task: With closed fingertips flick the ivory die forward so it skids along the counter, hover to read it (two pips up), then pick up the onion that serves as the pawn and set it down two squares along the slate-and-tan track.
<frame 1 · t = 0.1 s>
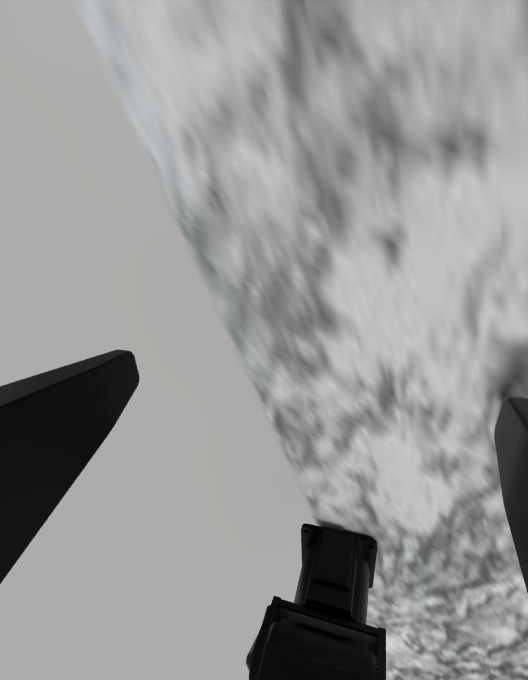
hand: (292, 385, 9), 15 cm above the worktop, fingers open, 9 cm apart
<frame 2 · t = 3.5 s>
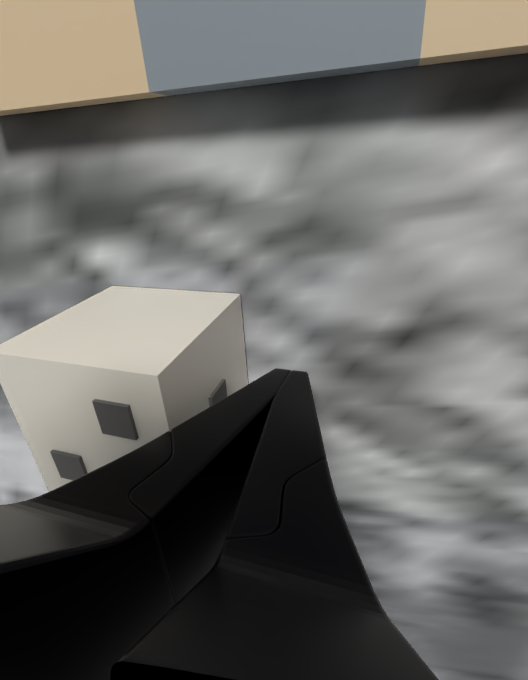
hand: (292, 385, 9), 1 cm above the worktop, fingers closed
die: (183, 352, 11), on the worktop, touching gripper
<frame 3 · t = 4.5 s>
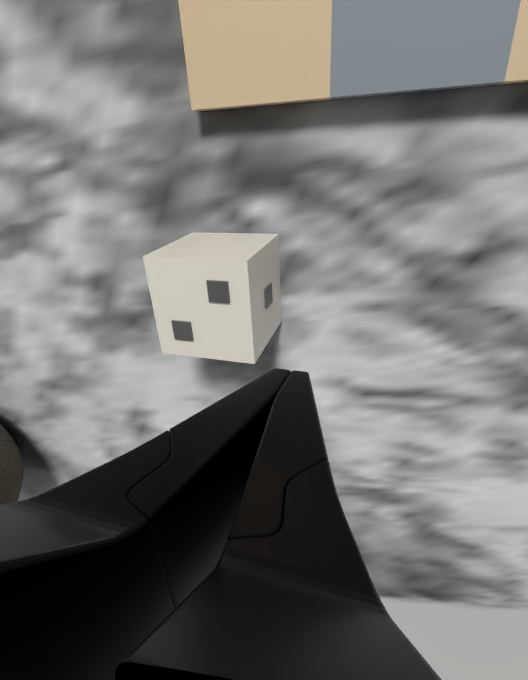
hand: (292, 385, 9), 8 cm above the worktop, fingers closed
die: (238, 277, 17), on the worktop
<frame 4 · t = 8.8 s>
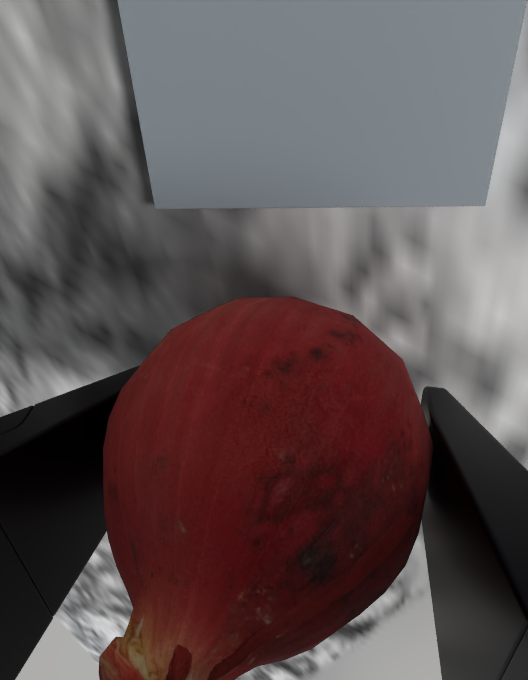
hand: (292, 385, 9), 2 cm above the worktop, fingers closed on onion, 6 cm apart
onion: (309, 349, 11), on the worktop, touching gripper
when the fingers open (4 cm above the worktop, at t = 12.8 s): onion drops 1 cm, resting on track.
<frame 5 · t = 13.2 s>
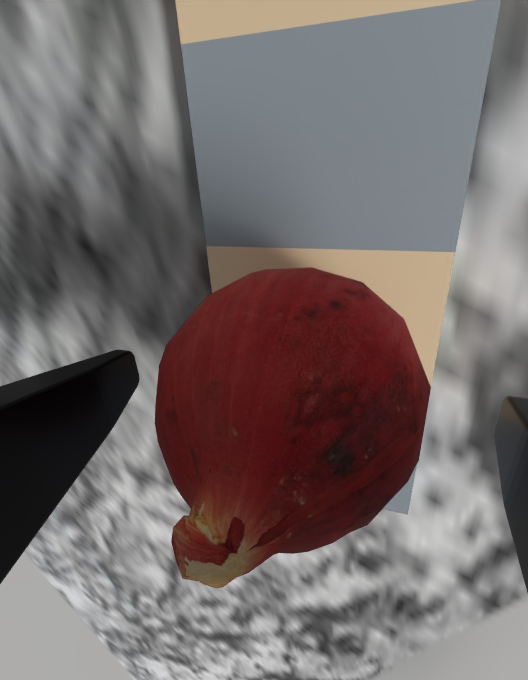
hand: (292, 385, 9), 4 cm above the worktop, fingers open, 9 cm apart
onion: (319, 324, 12), point 1 cm above the worktop, touching track
track: (323, 242, 11), on the worktop
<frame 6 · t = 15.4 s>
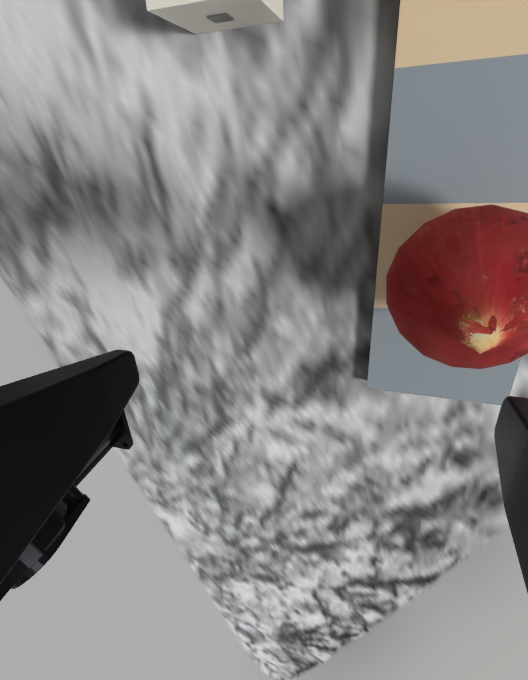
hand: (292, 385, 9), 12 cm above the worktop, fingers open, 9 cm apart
onion: (458, 259, 17), point 1 cm above the worktop, touching track
track: (466, 200, 17), on the worktop
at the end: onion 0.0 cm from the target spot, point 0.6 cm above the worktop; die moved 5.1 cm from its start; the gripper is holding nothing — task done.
